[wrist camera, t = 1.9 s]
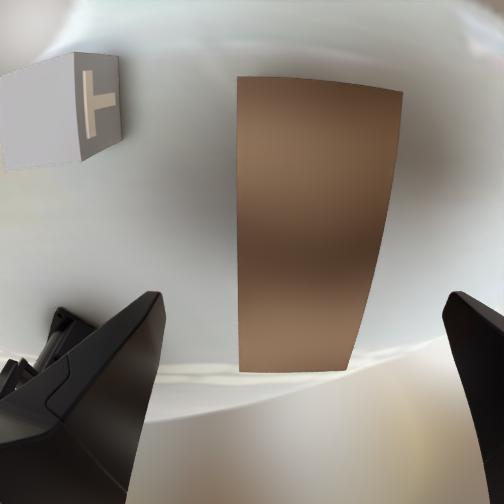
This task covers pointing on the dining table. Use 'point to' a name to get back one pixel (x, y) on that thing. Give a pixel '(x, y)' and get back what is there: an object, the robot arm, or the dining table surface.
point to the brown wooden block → (309, 216)
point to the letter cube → (59, 110)
